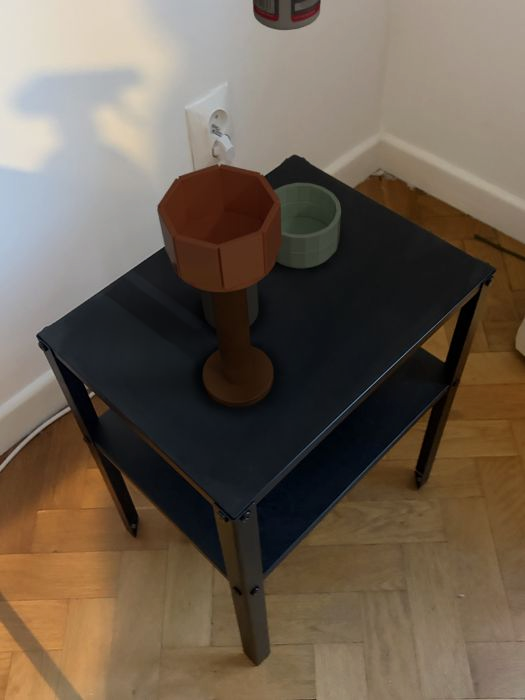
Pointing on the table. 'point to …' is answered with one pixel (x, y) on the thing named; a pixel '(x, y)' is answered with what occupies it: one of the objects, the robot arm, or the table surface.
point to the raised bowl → (221, 227)
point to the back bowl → (308, 225)
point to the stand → (235, 355)
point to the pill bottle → (286, 13)
